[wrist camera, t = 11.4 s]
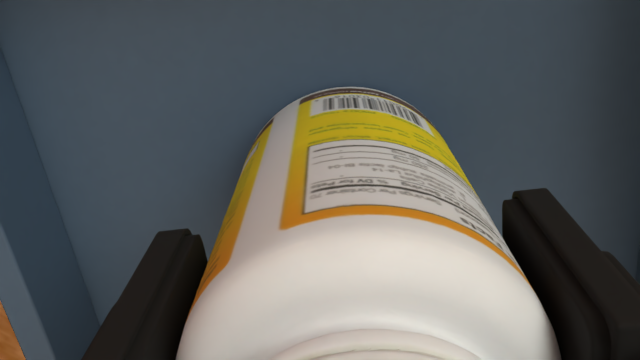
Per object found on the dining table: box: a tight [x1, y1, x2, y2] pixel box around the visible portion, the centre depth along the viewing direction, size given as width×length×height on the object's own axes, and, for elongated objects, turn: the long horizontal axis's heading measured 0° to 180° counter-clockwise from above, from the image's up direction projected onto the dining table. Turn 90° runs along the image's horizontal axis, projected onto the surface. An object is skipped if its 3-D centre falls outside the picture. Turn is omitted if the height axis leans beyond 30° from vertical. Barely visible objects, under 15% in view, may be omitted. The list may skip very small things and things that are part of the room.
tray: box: [0, 0, 640, 360], centre depth 14 cm, size 18×16×3 cm
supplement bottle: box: [176, 87, 561, 360], centre depth 10 cm, size 6×6×10 cm
